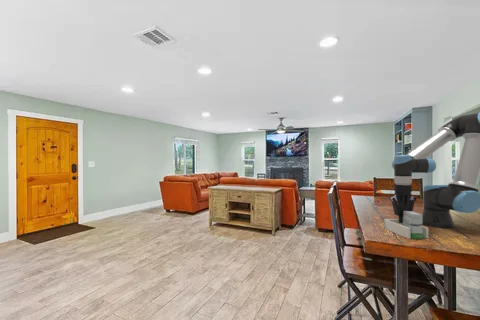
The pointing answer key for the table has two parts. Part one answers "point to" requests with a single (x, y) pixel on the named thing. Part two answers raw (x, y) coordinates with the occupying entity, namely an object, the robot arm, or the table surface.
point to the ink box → (413, 224)
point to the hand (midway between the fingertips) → (403, 229)
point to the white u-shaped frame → (401, 228)
